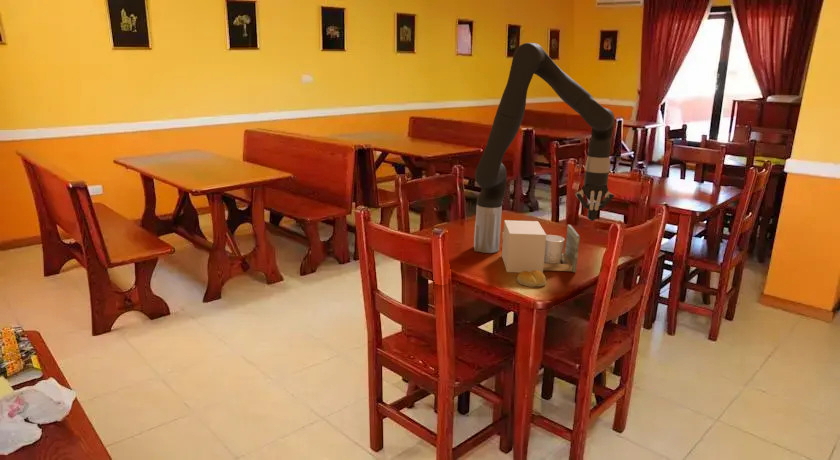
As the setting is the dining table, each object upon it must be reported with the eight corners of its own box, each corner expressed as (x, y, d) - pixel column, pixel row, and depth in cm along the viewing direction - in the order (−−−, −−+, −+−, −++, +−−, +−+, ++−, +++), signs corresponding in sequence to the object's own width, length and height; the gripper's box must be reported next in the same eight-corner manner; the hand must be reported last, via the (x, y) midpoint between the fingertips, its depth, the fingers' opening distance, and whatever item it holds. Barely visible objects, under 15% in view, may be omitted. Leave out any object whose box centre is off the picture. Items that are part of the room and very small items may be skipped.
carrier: (536, 270, 194) (539, 234, 190) (529, 257, 207) (532, 223, 204) (578, 272, 194) (582, 236, 190) (569, 258, 207) (572, 224, 203)
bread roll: (514, 278, 188) (515, 267, 187) (540, 278, 189) (541, 266, 188) (521, 288, 180) (522, 276, 179) (549, 287, 181) (550, 275, 180)
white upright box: (506, 271, 193) (509, 233, 189) (501, 255, 209) (504, 220, 205) (542, 273, 193) (546, 234, 189) (534, 257, 209) (538, 221, 205)
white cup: (562, 270, 196) (565, 242, 193) (538, 268, 198) (541, 240, 195) (561, 262, 204) (564, 235, 201) (538, 260, 205) (541, 233, 202)
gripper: (579, 171, 187) (574, 222, 192) (620, 172, 187) (614, 223, 192) (574, 167, 194) (569, 216, 199) (613, 168, 194) (608, 217, 199)
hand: (591, 220), depth 195 cm, fingers closed
